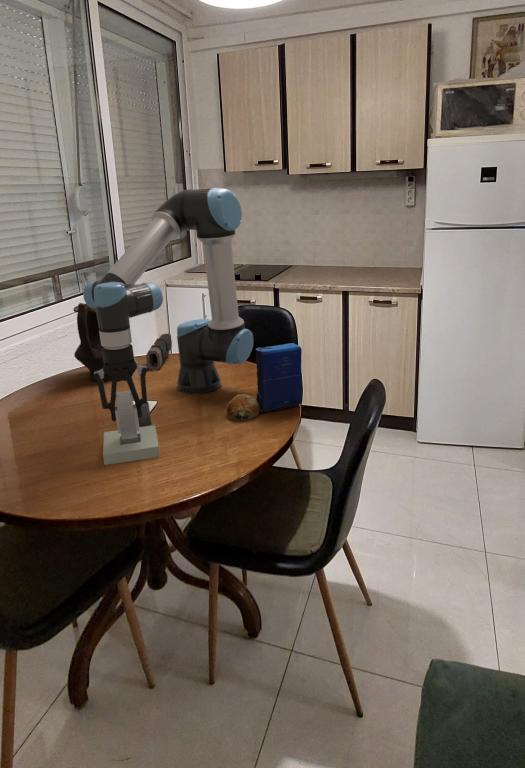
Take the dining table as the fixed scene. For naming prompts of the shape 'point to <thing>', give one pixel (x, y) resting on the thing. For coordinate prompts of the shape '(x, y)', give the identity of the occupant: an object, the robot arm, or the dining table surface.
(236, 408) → the bread roll
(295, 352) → the book
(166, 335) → the tube
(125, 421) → the square peg
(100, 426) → the dining table surface
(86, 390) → the dining table surface
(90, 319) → the jug
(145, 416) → the round peg
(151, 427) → the socket board
